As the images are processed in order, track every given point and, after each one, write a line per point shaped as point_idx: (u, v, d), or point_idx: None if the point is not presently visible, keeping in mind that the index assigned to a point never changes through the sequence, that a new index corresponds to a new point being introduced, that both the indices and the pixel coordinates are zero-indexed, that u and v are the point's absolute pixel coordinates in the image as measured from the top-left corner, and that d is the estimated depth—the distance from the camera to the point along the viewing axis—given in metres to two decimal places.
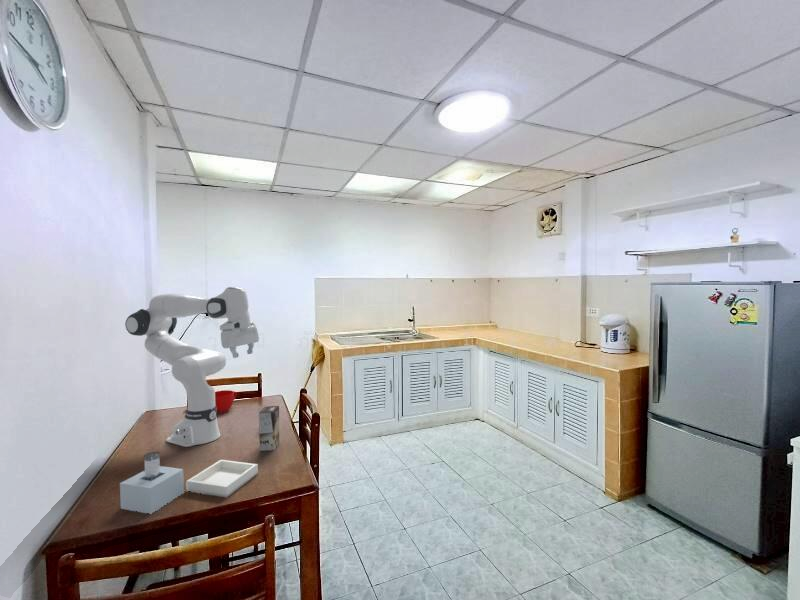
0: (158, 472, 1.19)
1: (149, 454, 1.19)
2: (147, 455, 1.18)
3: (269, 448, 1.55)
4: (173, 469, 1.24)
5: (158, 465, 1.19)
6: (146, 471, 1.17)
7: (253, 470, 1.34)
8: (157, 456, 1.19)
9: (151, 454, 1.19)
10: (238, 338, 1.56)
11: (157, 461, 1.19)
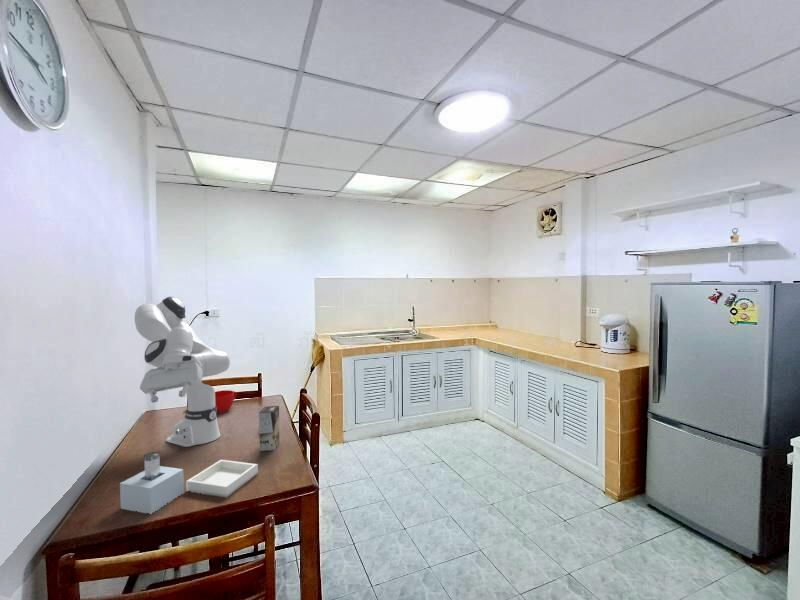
0: (158, 472, 1.19)
1: (149, 454, 1.19)
2: (147, 455, 1.18)
3: (269, 448, 1.55)
4: (173, 469, 1.24)
5: (158, 465, 1.19)
6: (146, 471, 1.17)
7: (253, 470, 1.34)
8: (157, 456, 1.19)
9: (151, 454, 1.19)
10: None
11: (157, 461, 1.19)
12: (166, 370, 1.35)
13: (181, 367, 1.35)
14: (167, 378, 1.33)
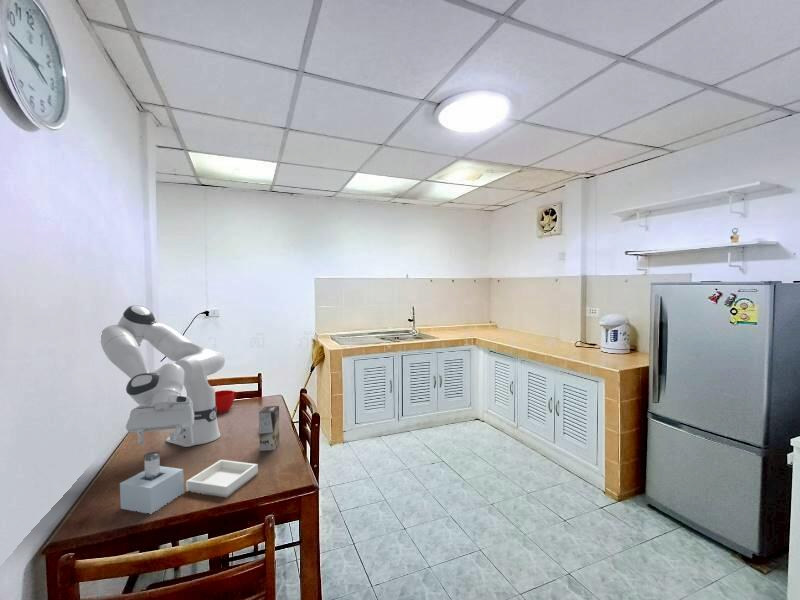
0: (158, 472, 1.19)
1: (149, 454, 1.19)
2: (147, 455, 1.18)
3: (269, 448, 1.55)
4: (173, 469, 1.24)
5: (158, 465, 1.19)
6: (146, 471, 1.17)
7: (253, 470, 1.34)
8: (157, 456, 1.19)
9: (151, 454, 1.19)
10: None
11: (157, 461, 1.19)
12: (157, 410, 1.31)
13: (174, 408, 1.32)
14: (157, 419, 1.29)
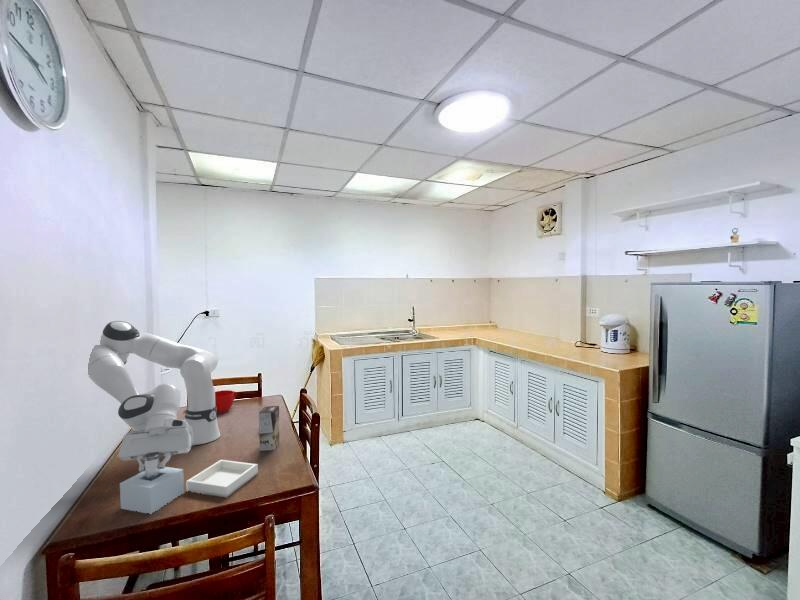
0: (158, 472, 1.19)
1: (149, 454, 1.19)
2: (147, 455, 1.18)
3: (269, 448, 1.55)
4: (173, 469, 1.24)
5: (158, 465, 1.19)
6: (146, 471, 1.17)
7: (253, 470, 1.34)
8: (157, 456, 1.19)
9: (151, 454, 1.19)
10: None
11: (157, 461, 1.19)
12: (152, 435, 1.23)
13: (169, 433, 1.25)
14: (152, 445, 1.22)
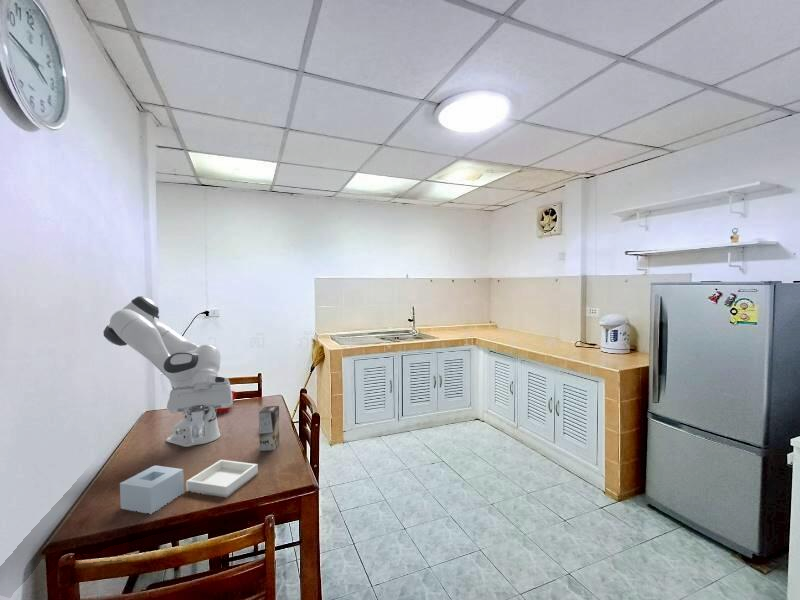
0: (204, 423, 1.26)
1: (195, 406, 1.26)
2: (193, 407, 1.25)
3: (269, 448, 1.55)
4: (173, 469, 1.24)
5: (203, 417, 1.26)
6: (193, 422, 1.24)
7: (253, 470, 1.34)
8: (203, 408, 1.25)
9: (197, 406, 1.26)
10: None
11: (203, 413, 1.25)
12: (196, 390, 1.30)
13: (213, 388, 1.32)
14: (197, 399, 1.28)
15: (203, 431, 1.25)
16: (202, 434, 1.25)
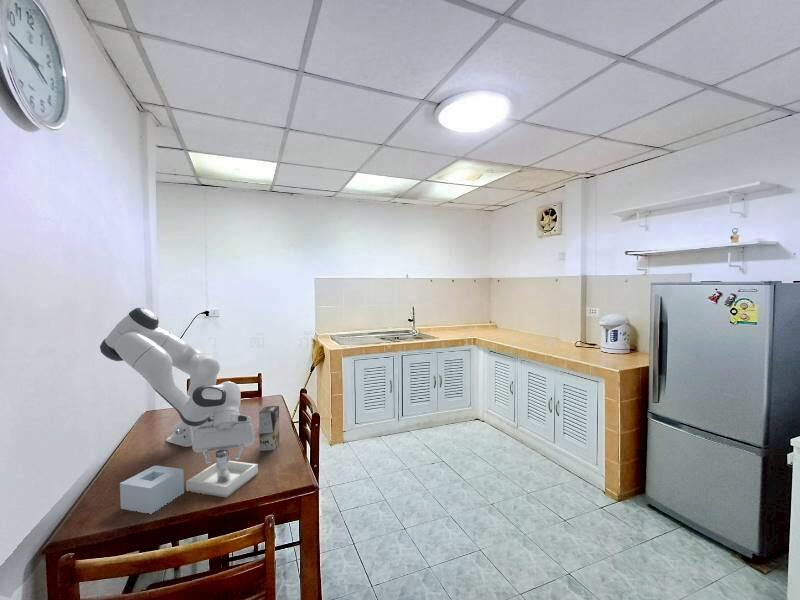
0: (228, 467, 1.30)
1: (219, 451, 1.30)
2: (218, 452, 1.29)
3: (269, 448, 1.55)
4: (173, 469, 1.24)
5: (228, 461, 1.30)
6: (218, 467, 1.28)
7: (253, 470, 1.34)
8: (227, 453, 1.29)
9: (221, 451, 1.30)
10: None
11: (227, 458, 1.29)
12: (220, 429, 1.34)
13: (236, 427, 1.36)
14: (221, 438, 1.33)
15: (228, 475, 1.30)
16: (227, 478, 1.29)
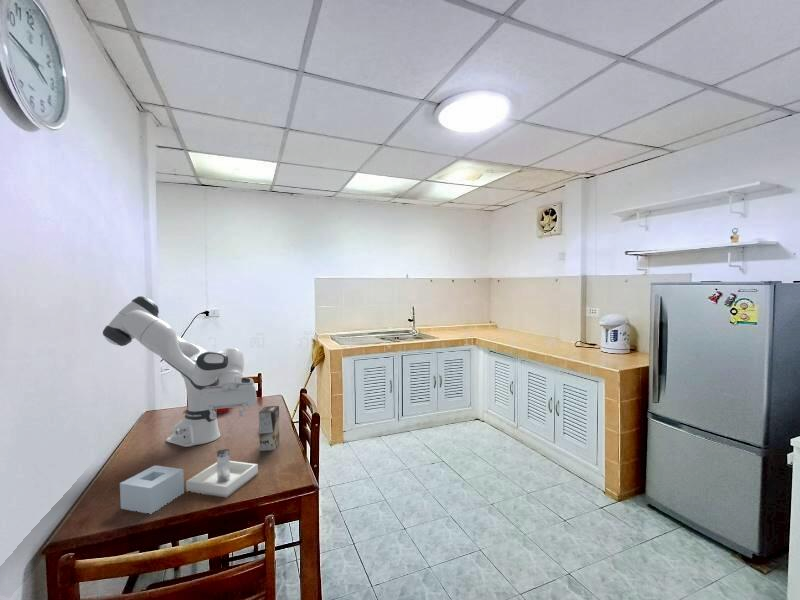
0: (229, 468, 1.30)
1: (221, 451, 1.30)
2: (219, 452, 1.29)
3: (269, 448, 1.55)
4: (173, 469, 1.24)
5: (229, 461, 1.30)
6: (219, 466, 1.28)
7: (253, 470, 1.34)
8: (228, 453, 1.30)
9: (223, 451, 1.30)
10: None
11: (228, 457, 1.30)
12: (225, 389, 1.44)
13: (239, 388, 1.46)
14: (226, 397, 1.43)
15: (228, 475, 1.30)
16: (227, 478, 1.29)
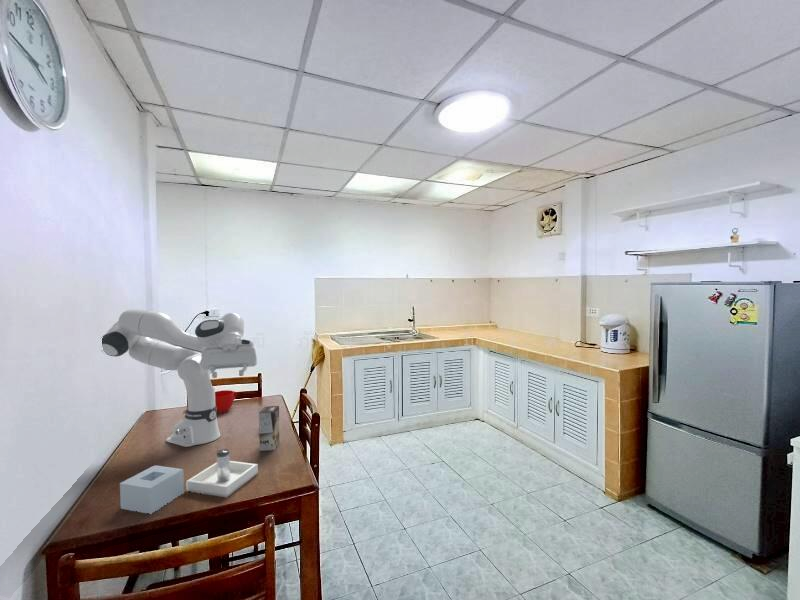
0: (229, 467, 1.30)
1: (220, 451, 1.30)
2: (219, 452, 1.29)
3: (269, 448, 1.55)
4: (173, 469, 1.24)
5: (229, 461, 1.30)
6: (219, 466, 1.28)
7: (253, 470, 1.34)
8: (228, 453, 1.30)
9: (222, 451, 1.30)
10: None
11: (228, 457, 1.30)
12: (225, 350, 1.47)
13: (239, 349, 1.48)
14: (226, 358, 1.45)
15: (228, 475, 1.30)
16: (227, 478, 1.29)
